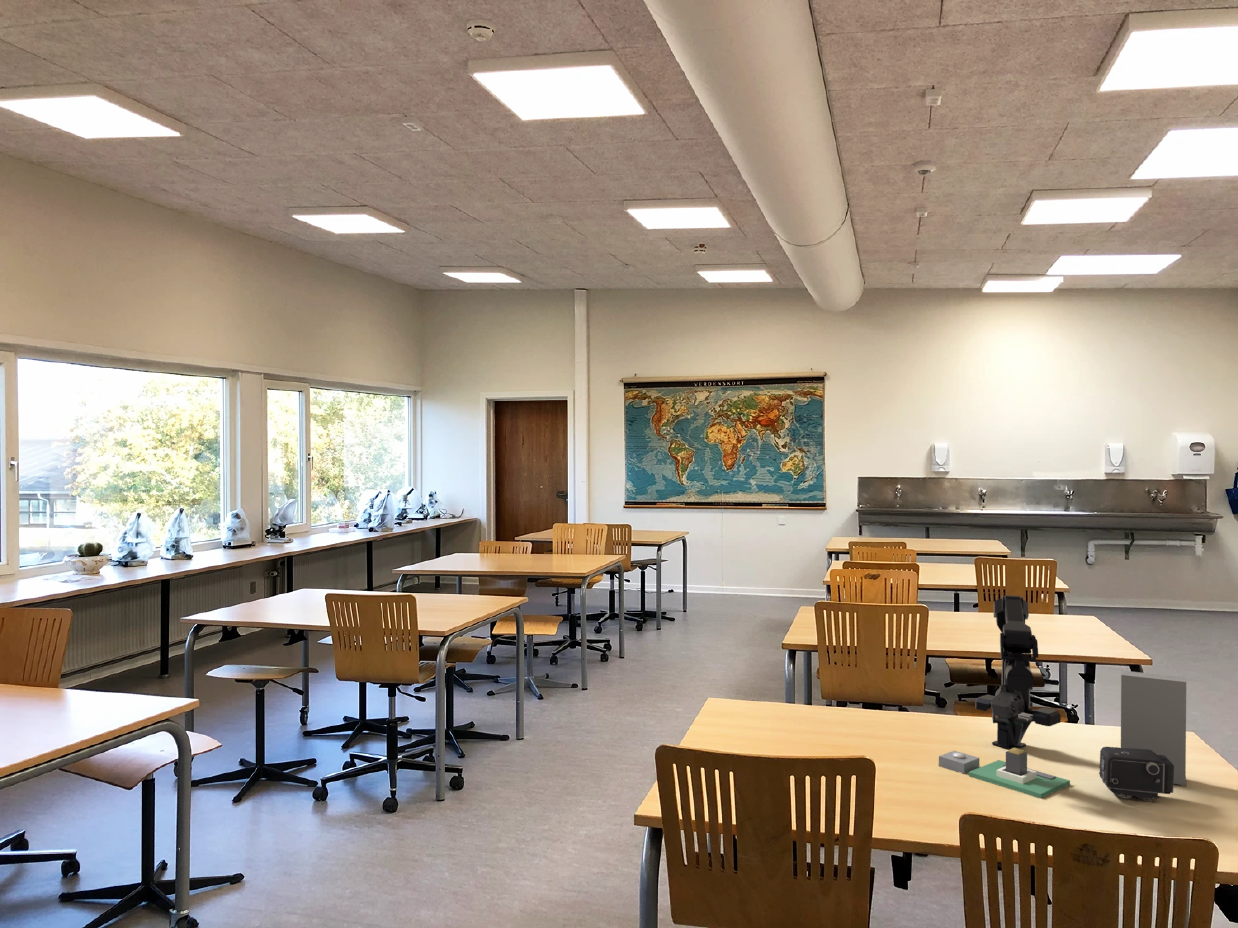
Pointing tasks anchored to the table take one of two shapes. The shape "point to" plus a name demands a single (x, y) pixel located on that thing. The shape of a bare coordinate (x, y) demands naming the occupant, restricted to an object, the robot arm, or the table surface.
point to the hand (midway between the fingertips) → (1016, 745)
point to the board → (1020, 779)
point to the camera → (1136, 772)
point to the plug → (1016, 761)
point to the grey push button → (959, 762)
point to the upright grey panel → (1155, 717)
